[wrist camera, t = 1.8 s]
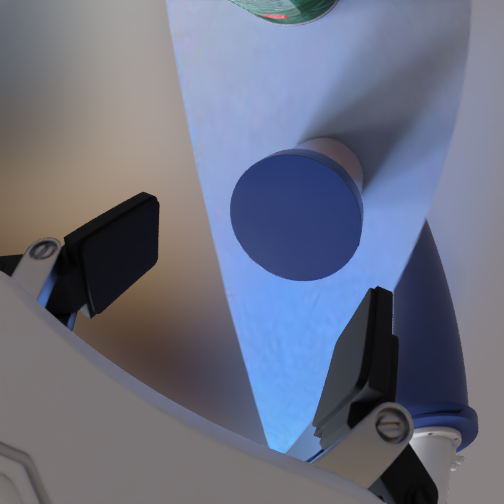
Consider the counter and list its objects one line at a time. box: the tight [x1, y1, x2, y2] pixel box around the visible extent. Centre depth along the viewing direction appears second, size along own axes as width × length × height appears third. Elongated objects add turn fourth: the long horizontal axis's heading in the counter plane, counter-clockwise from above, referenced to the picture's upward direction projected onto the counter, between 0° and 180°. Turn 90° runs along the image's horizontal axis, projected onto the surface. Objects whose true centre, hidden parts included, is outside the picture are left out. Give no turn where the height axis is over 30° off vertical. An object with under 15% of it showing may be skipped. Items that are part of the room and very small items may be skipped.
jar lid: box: [230, 149, 364, 281], centre depth 15 cm, size 7×7×2 cm
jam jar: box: [292, 137, 364, 196], centre depth 18 cm, size 6×6×9 cm
